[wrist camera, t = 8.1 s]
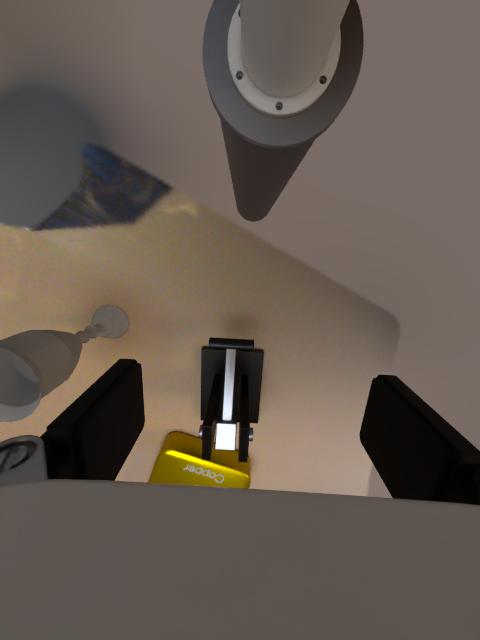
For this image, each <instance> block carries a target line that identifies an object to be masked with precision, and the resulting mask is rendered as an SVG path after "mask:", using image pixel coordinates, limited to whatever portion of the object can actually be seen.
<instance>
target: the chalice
mask: <svg viewBox="0 0 480 640" xmlns="http://www.w3.org/2000/svg"><path fill="white" fill-rule="evenodd" d="M91 325H92V326H87V327H86V328H85V331H78V332H77V333H76V335H74V334H72V333H68V332H62V331H56V330H29V331H25V332H21V333H19V334H16V335H13V336H11V337H8V338H5V339H3V340H0V421H1V422H12V421H17V420H22V419H24V418H25V417H27V416H29V415H30V414H32V413H33V412H34V410H35V409H36V408H37V406H38V405H39V403H40V400H41V399H42V398H43V397H44V396H46V395H47V394H48V393H50V392H51V391H52V390H54V389H55V388H57V387H58V386H59V385H61V384H62V383H63V382H65V381H66V380H68V378H69V377H70V375H71V374H72V373H73V371H74V369H75V367H76V365H77V363H78V361H79V357H80V354H81V350H82V343H87V342H88V341H89V338H93V339H94V338H96V337H98V335H99V336H101V337H104V338H117V337H121V336H122V335H123V334H125V332H126V331H127V328H128V319H127V317H126V314H125V313H124V312H123V311H122V310H121V309H119V308H118V307H116V306H113V305H104V306H101V307H100V308H98V309H97V310H96V312H95V314H94V316H93V318H92V321H91Z"/></svg>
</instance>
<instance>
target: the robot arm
mask: <svg viewBox="0 0 480 640" xmlns="http://www.w3.org/2000/svg"><path fill="white" fill-rule="evenodd" d="M349 2H350V0H240V3H239V5H238V6H237V9H236V11H235V13H234V15H233V17H232V21H231V24H230V28H229V32H228V42H227V54H228V64H229V71H230V74H231V78H232V81H233V83H234V85H235V87H236V90H237V92H238V93H239V95H240V96H241V97H242V99H243V100H244V101H245V102H246V103H247V104H248V105H249V106H250V107H251V108H252V109H254V110H255V111H257V112H259V113H260V114H263V115H266V116H269V117H275V118H285V117H291V116H294V115H297V114H300V113H302V112H303V111H305V110H307V109H308V108H310V107H311V106H312V105H313V104H314V103H315V102H316V101H318V99H319V98H320V97H321V96H322V94H323V93H324V92H325V90H326V88H327V87H328V85H329V83H330V81H331V79H332V77H333V75H334V72H335V70H336V67H337V63H338V60H339V55H340V47H341V32H340V23H341V21H342V18H343V16H344V14H345V11H346V9H347V7H348V4H349ZM239 78H241V80H238V79H239ZM320 82H322V83H323V84H321V83H320ZM277 108H279V109H280V110H279V111H278V110H277ZM144 423H145V415H144V399H143V383H142V368H141V364H140V363H137V361H136V360H135V359H119V360H118V361H117V362H116V363H115V364H114V365H113V366H112V367H111V368H110V369H109V370H107V371H106V372H105V373H104V374H103V375H102V376H101V377H100V378H99V379H98V380H97V381H96V382H95V383H94V384H92V385H91V386H90V387H89V388H88V389H87V390H86V391H85V392H84V393H83V394H82V395H81V396H80V397H79V398H77V399H76V400H75V401H74V402H73V403H72V404H71V405H70V406H69V407H68V408H67V409H66V410H65V411H63V412H62V413H61V414H60V415H59V416H58V417H57V418H56V419H55V420H54V421H53V422H52V423H51V424H50V425H48V426H47V427H46V428H47V431H46V432H45V433H44V434H43V435H42V436H41V437H38V436H34V435H24V436H18V437H14V438H10V439H7V440H5V441H2V442H0V640H480V451H479V450H478V449H477V448H476V447H474V446H473V445H472V444H471V443H470V442H469V441H468V440H467V439H466V438H464V437H463V436H462V435H461V434H460V433H459V432H458V431H457V430H456V429H454V428H453V427H452V426H451V425H450V424H449V423H448V422H447V421H446V420H444V419H443V418H442V417H441V416H440V415H439V414H438V413H437V412H436V411H434V410H433V409H432V408H431V407H430V406H429V405H428V404H426V402H424V401H423V400H422V399H421V398H420V397H419V396H418V395H416V394H415V393H414V392H413V391H412V390H411V389H410V388H409V387H408V386H407V385H405V384H404V383H403V382H402V381H401V380H400V379H399V378H398V377H396V376H393V375H378V376H377V378H374V379H373V380H372V384H371V388H370V392H369V397H368V401H367V405H366V409H365V413H364V417H363V422H362V426H361V430H360V441H361V443H362V445H363V447H364V449H365V450H366V452H367V454H368V456H369V457H370V459H371V461H372V463H373V464H374V466H375V468H376V469H377V471H378V473H379V475H380V476H381V478H382V480H383V482H384V483H385V485H386V487H387V489H388V490H389V492H390V494H391V496H392V497H393V498H379V497H366V496H352V495H338V494H323V493H307V492H292V491H277V490H261V489H245V488H229V487H212V486H195V485H177V484H160V483H143V482H125V481H114V480H115V479H116V477H117V475H118V473H119V471H120V470H121V468H122V466H123V464H124V462H125V460H126V459H127V457H128V455H129V453H130V451H131V450H132V448H133V446H134V444H135V442H136V440H137V439H138V437H139V435H140V433H141V431H142V429H143V427H144Z"/></svg>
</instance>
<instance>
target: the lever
mask: <svg viewBox="0 0 480 640" xmlns="http://www.w3.org/2000/svg"><path fill="white" fill-rule="evenodd" d="M209 350H224V351H226V365H225V381H224V397H223V414H222V417H218V420H217V425H216V440H215V449H219V450H235V444H236V426H237V418H232V411H233V393H234V376H235V358H236V351H241V352H253V351H254V340H246V339H229V338H211V337H210V339H209Z"/></svg>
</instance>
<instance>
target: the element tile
mask: <svg viewBox="0 0 480 640" xmlns="http://www.w3.org/2000/svg"><path fill="white" fill-rule="evenodd" d="M148 483H160V484H177V485H195V486H212V487H229V488H245V489H248V488H249V486H250V483H251V478H250V459H249V458H248V460H247V463H245V462H238V451H236V450H219V449H215V444H214V443H213V449H212V455H211V460H202V439H199V438H196V437H193V436H190V435H187V434H184V433H180V432H173V433H170V434H169V435H168V436H167V437H166V438H165V440H164V442H163V445H162V447H161V449H160V452H159V454H158V456H157V459H156V462H155V465H154V468H153V470H152V473H151V476H150V479H149V482H148Z"/></svg>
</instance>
